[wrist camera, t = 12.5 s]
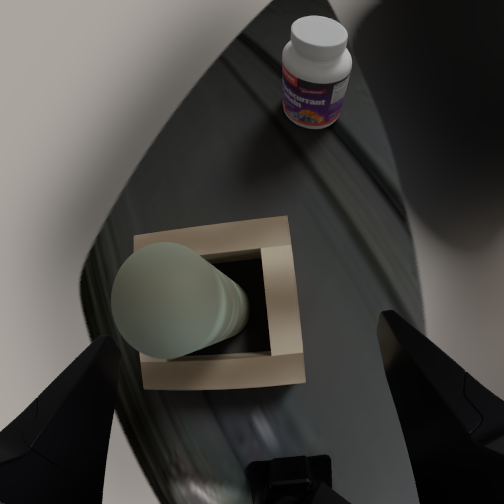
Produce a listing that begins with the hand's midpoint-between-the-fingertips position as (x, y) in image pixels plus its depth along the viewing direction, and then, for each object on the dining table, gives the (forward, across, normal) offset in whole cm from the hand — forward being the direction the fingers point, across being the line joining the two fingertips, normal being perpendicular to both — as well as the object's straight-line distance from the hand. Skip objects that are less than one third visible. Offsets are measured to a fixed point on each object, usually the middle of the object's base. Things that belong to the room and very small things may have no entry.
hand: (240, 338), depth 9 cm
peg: (+11, +3, +9) cm, 14 cm away
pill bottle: (+23, -6, -3) cm, 24 cm away
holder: (+11, +3, +8) cm, 14 cm away
